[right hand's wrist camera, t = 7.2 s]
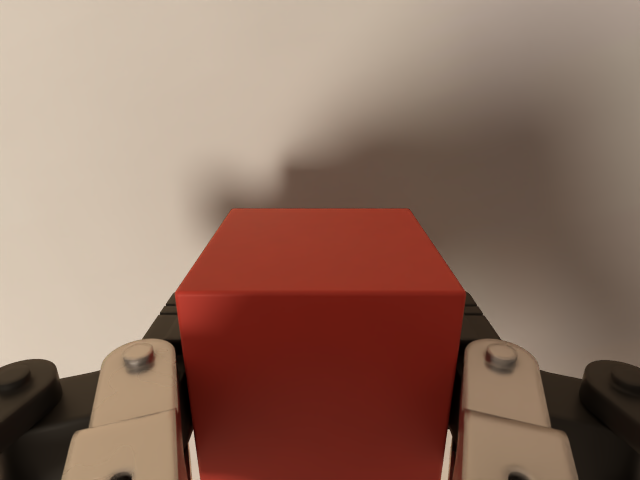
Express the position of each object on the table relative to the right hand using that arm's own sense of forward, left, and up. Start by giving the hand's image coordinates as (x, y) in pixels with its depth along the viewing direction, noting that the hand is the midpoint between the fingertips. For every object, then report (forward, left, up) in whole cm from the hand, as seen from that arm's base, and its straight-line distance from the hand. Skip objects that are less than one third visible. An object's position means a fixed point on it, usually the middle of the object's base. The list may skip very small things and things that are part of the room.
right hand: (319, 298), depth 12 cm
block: (0, 0, 0) cm, 0 cm away
